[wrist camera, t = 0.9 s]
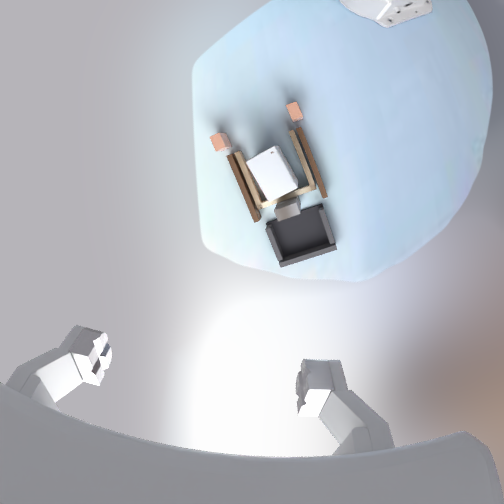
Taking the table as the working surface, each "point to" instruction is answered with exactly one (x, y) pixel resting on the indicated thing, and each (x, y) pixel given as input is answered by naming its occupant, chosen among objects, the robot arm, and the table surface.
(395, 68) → the table surface
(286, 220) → the dark grey tray
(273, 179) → the small box
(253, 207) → the walnut channel
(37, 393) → the robot arm
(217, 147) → the posts
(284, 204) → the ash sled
